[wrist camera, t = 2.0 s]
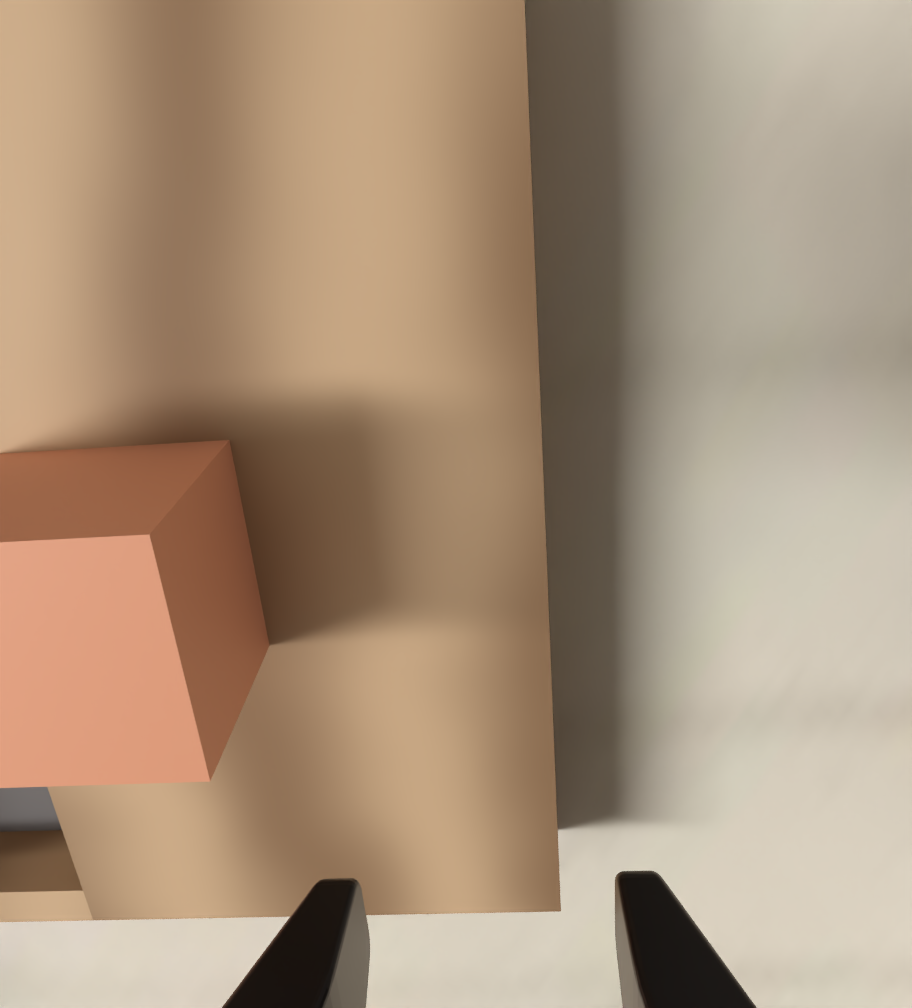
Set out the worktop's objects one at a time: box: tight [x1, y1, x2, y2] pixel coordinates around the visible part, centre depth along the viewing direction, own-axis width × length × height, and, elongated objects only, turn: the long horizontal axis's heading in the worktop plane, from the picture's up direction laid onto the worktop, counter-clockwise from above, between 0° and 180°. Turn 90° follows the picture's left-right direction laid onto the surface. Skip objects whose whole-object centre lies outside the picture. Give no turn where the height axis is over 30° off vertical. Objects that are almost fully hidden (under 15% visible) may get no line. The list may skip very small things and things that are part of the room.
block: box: [0, 440, 269, 788], centre depth 15 cm, size 4×4×4 cm
